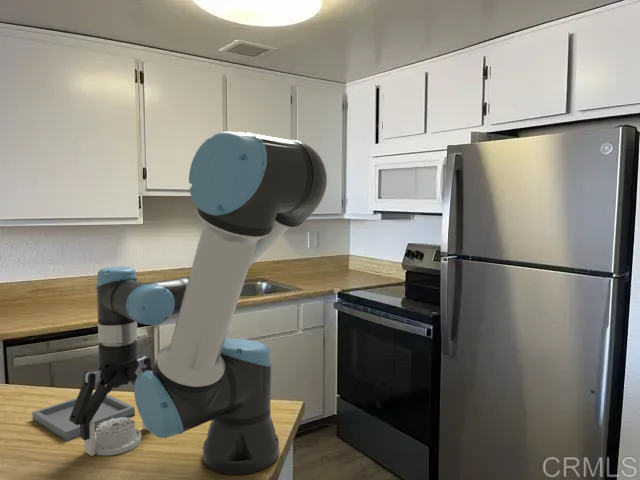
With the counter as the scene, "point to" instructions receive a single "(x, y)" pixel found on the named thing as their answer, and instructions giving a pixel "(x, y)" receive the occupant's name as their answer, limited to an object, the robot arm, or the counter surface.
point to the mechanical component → (116, 436)
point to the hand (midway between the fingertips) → (120, 440)
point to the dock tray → (60, 425)
